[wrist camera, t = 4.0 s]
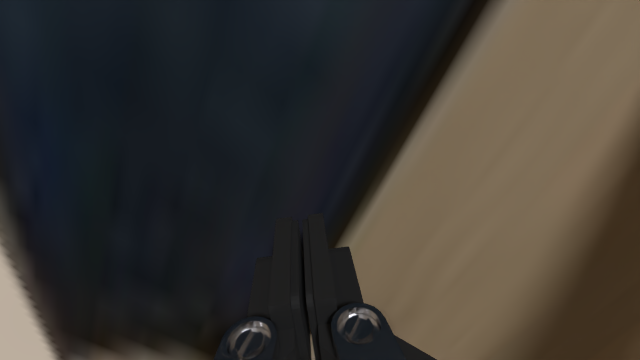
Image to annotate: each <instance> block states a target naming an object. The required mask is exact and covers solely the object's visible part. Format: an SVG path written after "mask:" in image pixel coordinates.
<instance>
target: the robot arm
mask: <svg viewBox="0 0 640 360" xmlns="http://www.w3.org/2000/svg"><path fill="white" fill-rule="evenodd" d="M302 222H303V245H304V257H303V250H302V244H301V237H300V230H299V224H298V220H296V221H292V217H288V218H280V219H276V226H275V236H274V247H273V256H270V257H262V258H257V261H256V266H255V272H254V278H253V284H252V290H251V296H250V302H249V308H248V314H247V318H245V319H242V320H240V321H238V322H237V323H235V324H234V325H232V326H231V327H230V328H229V329H228V330H227V331H226V333H225V335H224V336H223V338H222V340H221V343H220V345H219V348H218V350H217V353H216V355H215V358H214V360H311V341H310V330H311V336H312V342H313V348H314V355H315V360H436V359H435V358H433V357H431V356H430V355H428V354H426V353H424V352H423V351H421V350H419V349H417V348H416V347H414V346H412V345H410V344H409V343H407V342H405V341H404V340H402V339H400V338H398V337H397V336H395V335H394V334H393V333H392V331H391V329H390V327H389V325H388V323H387V321H386V319H385V317H384V316H383V314H382V313H381V312H380V311H379V310H378V309H376V308H375V307H373V306H371V305H368V304H364V303H363V299H362V295H361V291H360V287H359V283H358V279H357V276H356V272H355V268H354V264H353V260H352V256H351V252H350V249H349V247H341V248H333V249H328V244H327V237H326V231H325V225H324V218H323V213H320V214H312V215H308V219H304V220H302Z"/></svg>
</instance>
